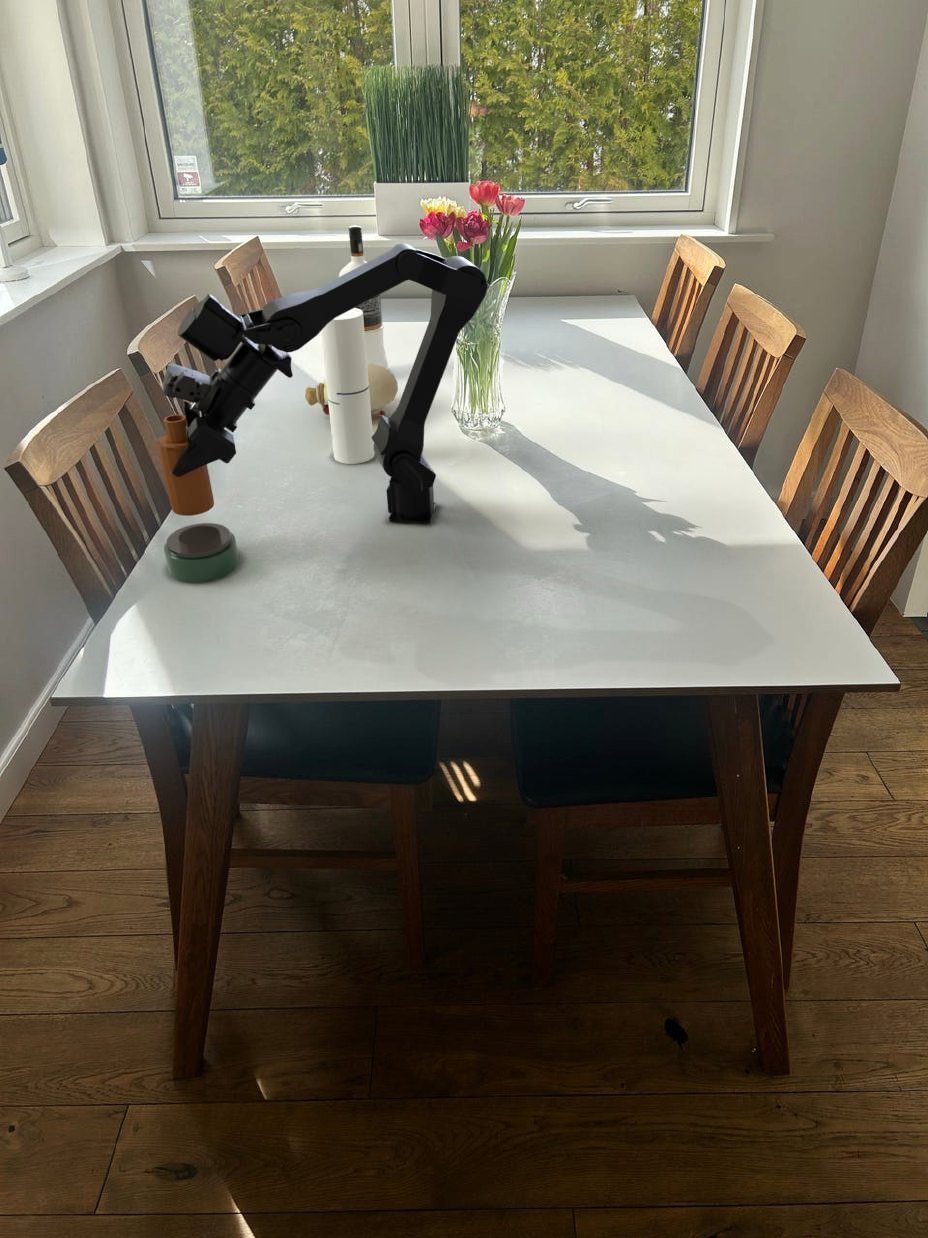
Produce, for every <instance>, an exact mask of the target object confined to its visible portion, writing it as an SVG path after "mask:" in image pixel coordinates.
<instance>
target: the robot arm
mask: <svg viewBox="0 0 928 1238" xmlns="http://www.w3.org/2000/svg"><path fill="white" fill-rule="evenodd" d="M366 262H367V263H365V264H363V265H361V266H359V267H357V268H355V269H354V270H352V271H350V272H348V273H346V274H344V275H342V276H340V277H339V276H338V277H337V278H334V279H332V280H331V281H329V282H327V283H324V284H323V285H321V286H319V287H317V288H313V289H310V290H304V291H303V290H302V291H297V292H292V293H290V294H286V295H283V296H280V297H276V298H273V299H271V300H270V301H268V302H267V303H266V304H265V305H264V306H263V308H260V309H256V310H253V311H249V312H245V313H241V314H240V313H239V314H238V315H236V314H235V313H233V312H232V311H230V310H229V308H227V307H225V306H224V305H223V304H222V303H221V302H220V301H219V300H218V299H217V298H216V297H215V296H213V295H212V294H211V293H207V295H206V296H204V298H203V299H202V300H200V301H199V302H198V303H197V304H196V305H195V306H194V307H191V308H190V309H189V310H188V312H187V313H186V315H185V316H184V318H183V320H182V322H181V323H180V325H179V327H178V330H177V336H178V337H180V338H181V339H182V340H184V341H185V342H187V343H188V344H189V345H191V346H192V347H194V348H195V349H196V350H198V351H199V352H200V353H202V354H203V355H204V356H206V357H207V358H209V359H210V360H212V362H217V361H218V360H219V361H221V362H223V361H226V360H227V362H226V363H225V365H224V366H223V367H222V368H221V369H220V368H219V367H218V368H217V369H214V370H213V371H212V372H211V373H210V375H208V374H206V373H202V372H200V371H198V370H194V369H191V368H188V367H185V366H181V365H178V364H176V363H168V364H167V367H166V371H165V374H164V378H163V383H162V394H163V395H164V396H166V397H168V398H171V399H180V400H182V401H183V410H184V415H185V416H186V419H187V424H188V427H187V426H186V435H187V439H188V443H187V444H186V446H185V448H184V450H183V452H182V454H181V456H180V457H179V459H178V461H177V463H176V465H175V467H174V469H173V471H172V473H173V474H174V475H175V476H177V477H180V476H182V475H185V474H187V473H189V472H191V471H193V470H195V469H197V468H199V467H202V466H204V465H206V464H207V465H208V464H211V463H214V462H216V461H219V460H220V461H221V462H223V463H224V464H230V462H231V461H232V460H233V458H234V457H235V456H236V454H237V448H236V444H235V438H234V434H232V433H234V432H235V431H236V430H237V428H238V423H237V422H238V421H239V419H240V418H241V417H242V415H243V414H244V413H245V412H246V410H247V409H248V410H250V411H252V410H253V408H254V407H255V405H256V402H255V399H256V398H257V396H258V395H259V394H260V392H261V391H262V390H263V389H264V388H265V386H266V385H267V383H269V381H270V380H271V379H272V377H273V376H274V375H275V373H276V372H277V371H279V372H280V373H282V374H283V375H284V376H286V377H287V378H289V379H291V378H292V377H293V376H294V374H293V370H292V356H291V353H293V352H296V351H299V350H300V349H302V348H303V347H304V346H305V345H307V344H308V343H309V342H310V341H312V340H313V339H314V338H316V337H318V335H319V334H321V331H322V329H323V328H324V327H325V326H326V325H327V324H328V323H329V322H330V321H332V320H333V319H334V318H336V317H338V316H340V315H342V314H344V313H345V312H347V311H349V310H351V309H353V308H355V307H357V306H359V305H361V304H363V303H365V302H366V301H368V300H370V299H372V298H374V297H376V296H378V295H380V296H381V294H383V293H385V292H388V291H389V290H391V289H393V288H395V287H397V286H399V285H401V284H403V283H404V282H406V281H411V282H414V283H416V284H418V285H421V286H423V287H426V288H428V289H430V290H431V295H430V297H431V299H430V300H431V301H430V302H431V303H430V317H429V321H428V324H427V326H426V329H425V332H424V335H423V338H422V340H421V343H420V345H419V348H418V351H417V353H416V357H415V359H414V362H413V365H412V368H411V370H410V373H409V375H408V378H407V381H406V383H405V386H404V389H403V392H402V395H401V398H400V400H399V404H398V405H397V408H396V409H395V410H394V412H392V414H391V415H390V416H389V417H387V416H386V415H385V416H383V415H380V416H379V418H378V422H377V428H376V429H375V431H374V433H373V436H372V437H371V438H372V440H373V444H374V446H373V447H374V455H375V457H376V458H377V461H378V462H379V464H380V465H381V467H382V469H383V471H384V472H385V474H387V475H388V476H389V477H390V479H389V481H388V483H389V484H388V485H387V488H386V491H385V492H386V500H387V501H386V503H387V512H388V513H389V514H390V515H389V517H388V521H389V522H390V523H404V524H422V525H424V524H425V525H428V524H430V523H431V522H432V519H433V517H434V514H435V511H436V509H437V507H438V505H437V502H435V495H434V494H435V493H434V483H435V480H436V477H437V474H436V473H435V471H434V469H433V468H432V467H431V465H430V463H429V462H428V460H427V459H426V458H425V456H424V454H423V452H424V446H425V424H426V420H427V418H428V415H429V413H430V410H431V407H432V405H433V402H434V399H435V396H436V395H437V392H438V389H439V387H440V384H441V382H442V380H443V376H444V374H445V371H446V369H447V366H448V363H449V360H450V358H451V356H452V353H453V351H454V347H455V345H456V342H457V341H458V337H459V336H460V335H459V334H460V332H461V331H462V330H463V329H464V328H465V326H466V325H467V324H468V323H469V322H470V321H471V320H472V319H473V318H474V317H475V315H476V313H477V312H478V310H479V308H480V307H481V305H482V303H483V301H484V300H485V298H486V296H487V292H488V289H489V286H488V284H489V283H488V281H487V278H486V275H485V274H484V271H482V270H481V269H480V268H479V267H478V266H476V265H475V264H473V262H472V261H469V260H468V259H466V258H465V257H463V256H459V255H453V256H449V257H448V258H446V257H443V256H440V255H437V254H434V253H432V252H429V251H425V250H421V249H417V248H415V247H413V246H412V245H410V244H408V243H403V242H402V243H398V244H396V245H394V246H393V247H392V248H391V249H389V250H388V251H386V252H384V253H382V254H380V255H378V256H376V257H374V258H372V259H371V260H369V261H366ZM274 348H275V349H274ZM277 350H278V351H277ZM279 351H281V352H279ZM283 352H284V353H283ZM228 359H229V360H228ZM189 402H190V403H189Z"/></svg>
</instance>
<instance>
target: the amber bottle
mask: <svg viewBox="0 0 928 1238" xmlns="http://www.w3.org/2000/svg"><path fill="white" fill-rule="evenodd" d="M163 424H164V428H165V434H163V435H161V436H160V437H158V438H157V439H156V446H157V449H158V455H159V459H160V464H161V467H162V472H163V477H164V482H165V485H166V490H167V494H168V499H169V503H170V508H171V511H172V513H174V514H176V515H177V516H186V517H190V516H198V515H201V514H202V515H203V514H205V513H207V512H209V511H211V510H212V508H214V506H215V501H214V500H215V499H214V493H213V488H212V483H211V478H210V473H209V468H208V464H206V465H204V466H202V467H199V468H197V469H195V470H193V471H191V472H189V473H187V474H185V475H182V476H180V477H177V476H175V475H174V474H173V473H172V471H173V469H174V467H175V465H176V463H177V461H178V459H179V457H180V456H181V454H182V452H183V450H184V448H185V446H186V444H187V443H188V439H187V435H186V426H187V427H188V424H187V419H186V416H185V414H180V413H177V414H175V413H174V414H169V415H167V416H165V417H164V418H163Z"/></svg>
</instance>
